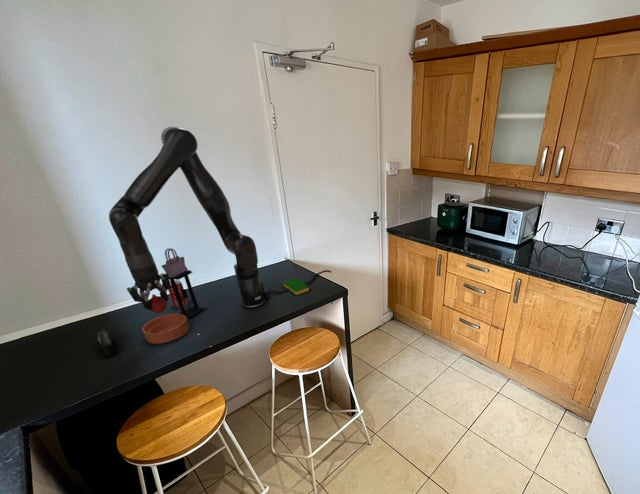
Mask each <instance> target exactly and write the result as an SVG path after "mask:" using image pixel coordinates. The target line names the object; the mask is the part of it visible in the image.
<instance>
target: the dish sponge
mask: <svg viewBox="0 0 640 494" xmlns="http://www.w3.org/2000/svg"><path fill="white" fill-rule="evenodd" d="M282 284H283V287H285V288H286V289H290V290H289V291H290V292H291V293H293V294H294V295H295V296H297V295H300V294H304V293H306V292H309V291H310V287H309V285H308V284H307V285H306V284H304V282H302V281H301V280H299V279H297V278H296V277H294V278H292V279H288V280H285V281H283V283H282Z"/></svg>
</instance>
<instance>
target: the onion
mask: <svg viewBox="0 0 640 494" xmlns="http://www.w3.org/2000/svg"><path fill="white" fill-rule="evenodd" d="M148 300H149V301H150V304H151V306H152V309H151V310H150V312H153V313H155V314H162V313H163V312H164V311H165V310H166V309H167V308H168V301H167V302H166V300H165V299H164V298H162V297H161V296H158V295H156V294H154V293H153V294H151V297H150V299H148Z"/></svg>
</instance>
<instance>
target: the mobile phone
mask: <svg viewBox="0 0 640 494" xmlns="http://www.w3.org/2000/svg"><path fill="white" fill-rule="evenodd" d="M97 340H98V343H99V345H100V346H101V348H102V350H103V351H104V354H105V355H106V356H113V355H115V354H116V353H117V351H116V350H115V347H114V345H113V343H112V340H111V339H110V336H109V334H108V332H107V331H105V330H100V331H98V332H97Z"/></svg>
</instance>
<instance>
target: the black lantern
mask: <svg viewBox="0 0 640 494" xmlns="http://www.w3.org/2000/svg"><path fill="white" fill-rule="evenodd" d="M170 252H171V254H172V256H173V257H172V258H171V255H170ZM164 256H165V259H166V260H165V264H162V265H161V268H162V270H163V271H164V272H165V274H168V276H169V281H170V282H171V285H172V288H173V290H174V293H175V296H176V299H177V302H178V304H179V307H180V308H179V310H180V312H179V313H178V314H183V315H185V316H186V318H187V319H193V318H195V317H196V316H198V315H199V314H201V313H202V312H204V311H205V310H206V309H205V307H199V305H198V302H197V297H196V295H195V292H194V289H193V287H192V283H191V281H190V277H189V275H191V274H193V273H194V272H193V271H192V270H189V269H188V267H187V266H186V263H185V261H186V260H185V257H184V256H181V257H180V256H179V255H178V254H177V252H176V250H175V249H174V248H169V247H168V248H166V249H165V250H164ZM181 279H184V282H185V283H186V287H187V289H188V292H187V289H185V288H184V289H183V290H181V292H182V295H183V298H185V299H186V298H187V299H188V298H189V296H190V298H191V302H192V304H193V306H189V307H187V308H186V309H185V307H184V306H183V303H182V300H181V298H180V295H179V292H178V289H177V286H176V283H175V281H174V280H179V281H180V280H181ZM188 293H189V294H188Z"/></svg>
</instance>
